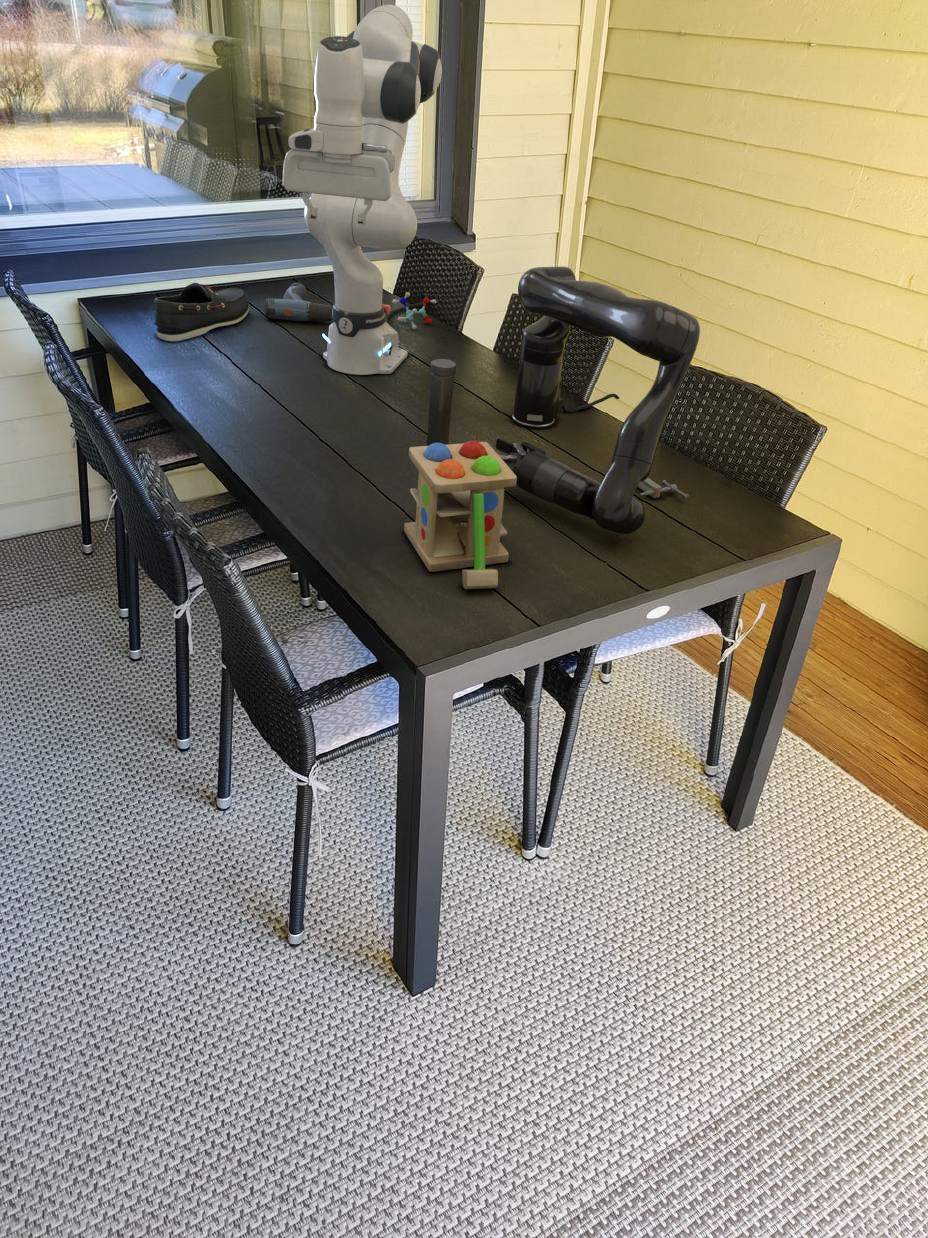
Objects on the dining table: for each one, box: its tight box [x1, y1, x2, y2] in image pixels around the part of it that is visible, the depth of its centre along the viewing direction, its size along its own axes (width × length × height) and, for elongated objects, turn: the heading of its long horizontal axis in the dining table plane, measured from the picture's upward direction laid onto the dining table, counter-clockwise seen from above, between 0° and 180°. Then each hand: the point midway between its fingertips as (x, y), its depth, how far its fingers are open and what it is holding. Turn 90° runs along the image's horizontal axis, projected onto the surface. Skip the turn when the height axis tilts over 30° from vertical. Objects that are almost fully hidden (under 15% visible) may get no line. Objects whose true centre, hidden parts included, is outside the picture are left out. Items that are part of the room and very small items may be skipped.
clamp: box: [636, 477, 689, 500], centre depth 193 cm, size 15×2×10 cm
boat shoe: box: [153, 282, 250, 342], centre depth 250 cm, size 13×33×10 cm, turn 147°
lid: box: [430, 358, 457, 377], centre depth 189 cm, size 5×5×2 cm
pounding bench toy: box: [403, 440, 517, 590], centre depth 161 cm, size 23×14×18 cm, turn 20°
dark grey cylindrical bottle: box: [426, 373, 455, 446], centre depth 194 cm, size 4×4×19 cm
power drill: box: [264, 282, 333, 322], centre depth 265 cm, size 5×19×20 cm
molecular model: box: [391, 291, 437, 331], centre depth 264 cm, size 12×10×10 cm
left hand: (337, 220), depth 186 cm, fingers open, 8 cm apart
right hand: (482, 448), depth 189 cm, fingers open, 8 cm apart
